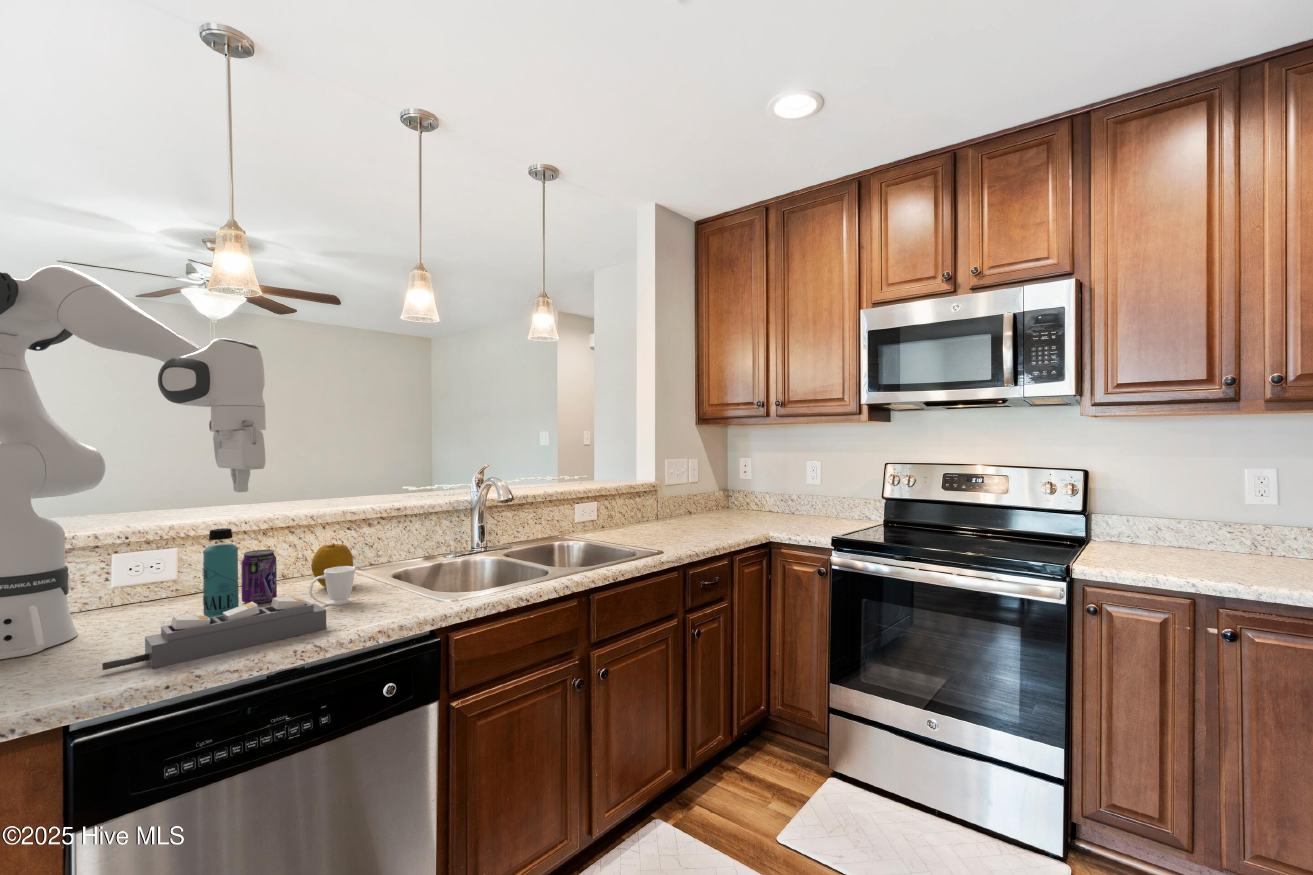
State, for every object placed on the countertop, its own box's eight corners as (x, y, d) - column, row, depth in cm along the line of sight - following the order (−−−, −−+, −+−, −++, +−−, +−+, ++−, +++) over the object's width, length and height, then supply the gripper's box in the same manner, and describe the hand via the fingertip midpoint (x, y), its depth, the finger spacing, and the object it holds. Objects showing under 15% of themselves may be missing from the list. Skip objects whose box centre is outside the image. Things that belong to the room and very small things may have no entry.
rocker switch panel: (105, 679, 100) (104, 646, 100) (100, 668, 104) (99, 637, 104) (326, 628, 125) (326, 602, 125) (314, 621, 130) (313, 596, 130)
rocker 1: (174, 629, 108) (177, 619, 108) (170, 624, 110) (173, 615, 110) (208, 628, 111) (210, 618, 112) (203, 624, 114) (205, 614, 114)
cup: (360, 602, 144) (360, 568, 144) (314, 611, 137) (314, 576, 137) (350, 596, 149) (350, 564, 149) (305, 605, 142) (305, 571, 142)
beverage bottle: (228, 614, 135) (227, 525, 135) (246, 618, 132) (245, 527, 132) (196, 622, 129) (195, 529, 129) (213, 626, 127) (212, 531, 126)
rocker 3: (276, 609, 120) (278, 600, 120) (270, 605, 122) (272, 597, 122) (303, 609, 123) (305, 600, 124) (297, 605, 126) (299, 597, 126)
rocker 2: (229, 623, 114) (227, 615, 114) (224, 620, 116) (222, 611, 116) (259, 612, 117) (257, 604, 117) (254, 609, 120) (252, 601, 120)
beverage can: (259, 606, 142) (258, 555, 141) (234, 604, 143) (233, 554, 143) (283, 598, 148) (283, 549, 148) (259, 596, 150) (259, 548, 150)
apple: (309, 593, 153) (309, 547, 152) (313, 584, 161) (313, 541, 161) (352, 589, 157) (352, 544, 157) (354, 580, 165) (353, 538, 165)
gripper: (274, 420, 114) (276, 493, 114) (243, 423, 128) (245, 488, 128) (234, 419, 109) (236, 496, 109) (206, 423, 123) (208, 490, 123)
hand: (240, 491), depth 119 cm, fingers closed
